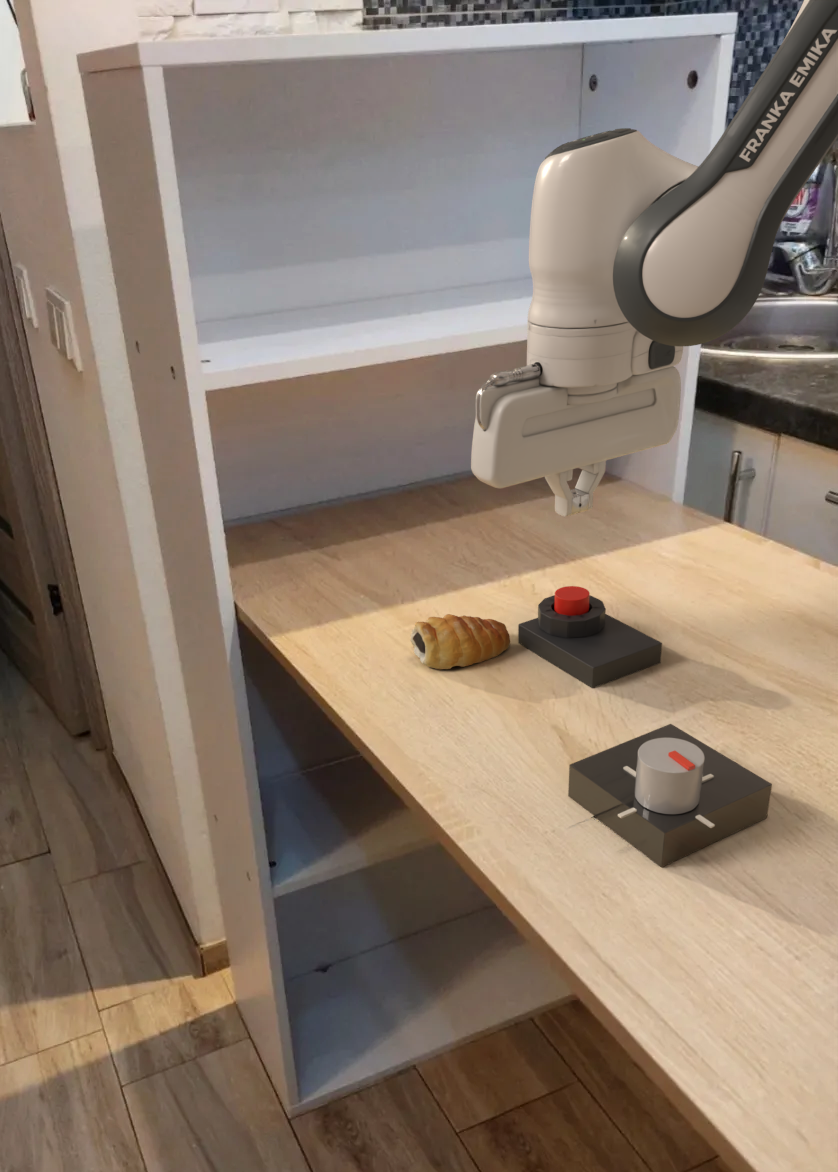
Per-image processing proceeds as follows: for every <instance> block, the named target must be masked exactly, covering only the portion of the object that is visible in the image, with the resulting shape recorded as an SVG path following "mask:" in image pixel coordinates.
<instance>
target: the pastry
mask: <svg viewBox="0 0 838 1172" xmlns="http://www.w3.org/2000/svg"><path fill="white" fill-rule="evenodd" d="M507 628H508V627H507V626H506V624H505V623H503V622H500V621H498V620H496V619H493V618H481V617H479V616H471V615H460V616H458V615H455V614H450V613H447V614H445V615H444V616H443V617H439V616H429V617H427V619H426V621H416V622H415V623H414V627H413V629H411V634H410V639H409V640H410V643H411V645H412V646H413V653H414V655H415V656H416V657H417V658H419V661H420V663H421V664H422V665H423V666H426V667H428V668H432V669H435V670H440V671H441V670H451V669H452V668H453V667H461V668H463V667H464V668H465V667H468V666H472V665H474V664H478V663H479V664H480V663H482V662H484V661H488V660H491V659H494V658H496V657H498V656H499V655H501V654H502V653H503V652H504V651H506V650H508V649H509V647H510V645H511V635H510V633H509V631H508V629H507Z"/></svg>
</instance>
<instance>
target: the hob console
mask: <svg viewBox="0 0 838 1172" xmlns="http://www.w3.org/2000/svg"><path fill="white" fill-rule="evenodd" d="M657 738H677V739H682V740H685V741H688V742H690V743H692V744H694V745H696V746H697V747H699V748H700V749H701V750H702V752H703V754H704V757H705V760H704V769H703V777H702V785H701V794H700V801H699V803H698V805H697V806H696V807H695V808H694V809H693V810H691V811H689V812H686V813H682V814H662V813H657V812H654V811H651V810H649V809H647V808H645V807H644V806H642V805H641V804H640V803H639V802H638V801H637V799H636V797H635V781H636V768H637V756H638V750H639V748H640V746H641V745H642V744H644V743H645V742H647V741H649V740H652V739H657ZM568 770H569V771H568V788H567V789H568V791H567V795H568V797H569V798H570V799H571V800H572V801H574V802H576V803H577V804H578V805H579V806H581V807H582V808H583V809H584V810H585V811H588V812H589V813H590V814H591V815H593V818H595V819H596V820H598V821H599V822H601V823H602V824H603V825H605V826H606V827H607V828H609V829H610V830H611V831H612V832H614V833H615V834H616V835H618V836H619V837H620V838H622V839H623V840H624V841H626V842H627V843H628V844H630V845H631V846H632V847H633V848H635V849H636V850H637V851H639V852H640V853H642V854H643V855H644V856H645V857H647V858H648V859H650V860H651V861H652V862H653V863H655V864H656V865H657V866H659V867H660V868H663V867H666V866H668V865H669V864H672V863H673V862H676V861H679V860H680V859H683V858H684V857H686V856H687V857H688V856H689V855H690V854H693V853H695V852H698V851H699V850H701V849H703V848H705V847H708V846H710V845H712V844H714V843H716V842H718V841H721V840H723V839H725V838H727V837H729V836H731V835H733V834H736V833H737V832H740V831H742V830H744V829H746V828H748V827H750V826H753V825H754V824H757V823H759V822H761V821H763V820H765V819H767V818H768V812H769V806H770V800H771V794H772V788H773V783H771V782H769V781H768V780H766V779H764V778H762V777H761V776H759V775H758V774H756V773H754V772H753V771H751V770H749V769H748V768H747V767H744V766H743V765H741V764H739V763H737V762H736V761H734V760H732V759H731V758H730V757H727V756H726V755H724V754H723V753H721V752H719V751H717V750H716V749H714V748H712V747H711V746H709V745H707V744H706V743H704V742H703V741H701V740H699V739H697V738H696V737H694V736H693V735H691V734H689V733H687V731H684V730H682V729H680V728H679V727H677V726H676V725H674V724H672V723H668V724H666V725H663V726H661V727H658V728H657V729H654V730H652V731H649V732H646V733H644V734H641V735H639V736H637V737H634V738H632V739H629V740H627V741H624V742H622V743H619V744H616V745H615V746H612V747H610V748H606V749H605V750H602V751H599V752H597V753H595V754H592V755H589V756H587V757H585V758H582V759H580V760H577V761H575V762H573V763H570V764H569V766H568Z"/></svg>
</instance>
